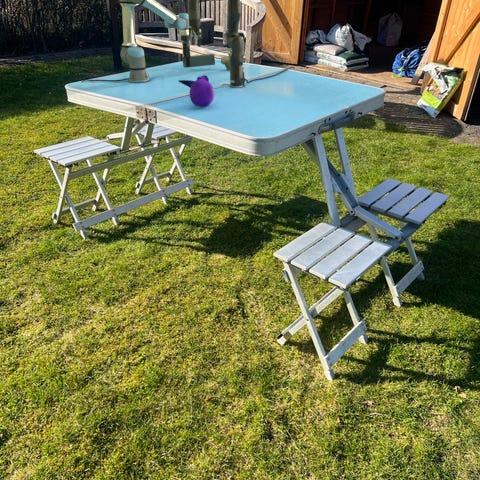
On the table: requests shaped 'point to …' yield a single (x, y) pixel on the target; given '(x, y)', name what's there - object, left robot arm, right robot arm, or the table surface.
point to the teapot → (227, 60)
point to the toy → (200, 91)
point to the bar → (199, 60)
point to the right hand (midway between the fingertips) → (196, 45)
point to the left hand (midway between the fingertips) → (187, 65)
